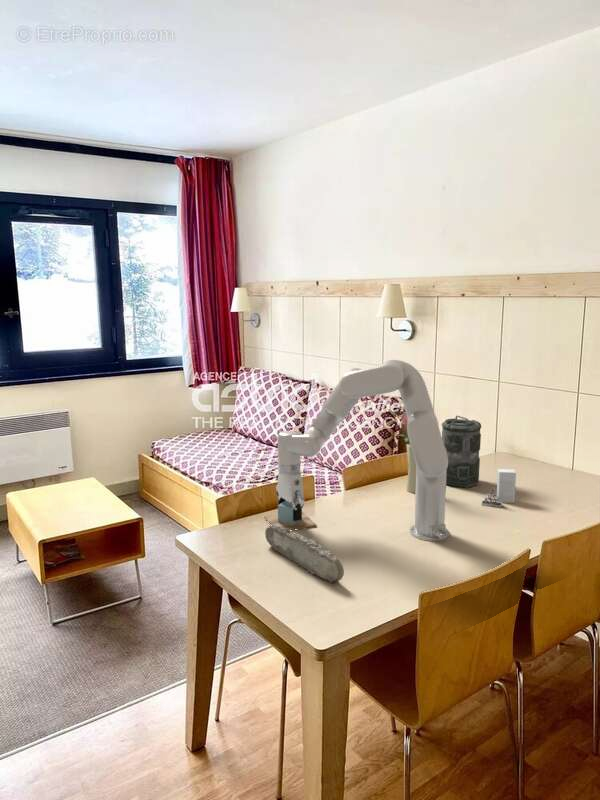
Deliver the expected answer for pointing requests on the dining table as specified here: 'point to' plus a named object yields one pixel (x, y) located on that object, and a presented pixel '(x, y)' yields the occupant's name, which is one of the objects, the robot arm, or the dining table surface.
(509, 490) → the skincare box
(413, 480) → the flower vase
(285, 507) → the dusty teal cube
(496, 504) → the silver ball pyramid
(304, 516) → the post block
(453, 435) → the canister
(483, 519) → the dining table surface
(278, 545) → the elongated rock
